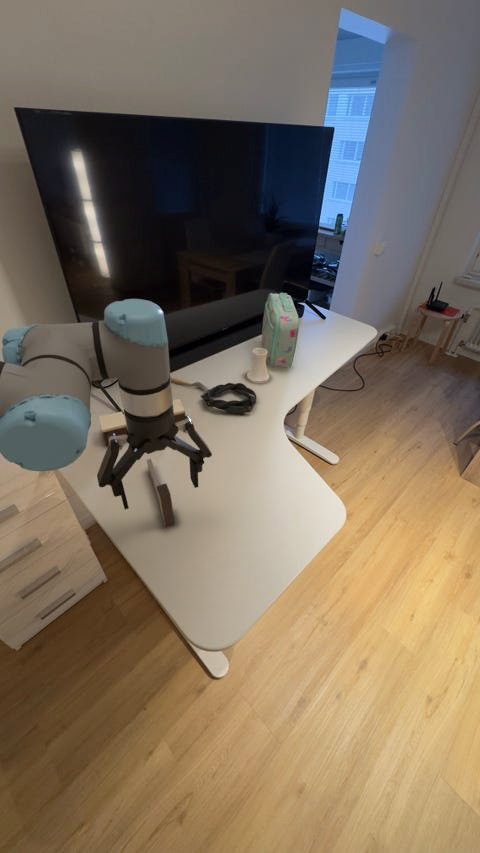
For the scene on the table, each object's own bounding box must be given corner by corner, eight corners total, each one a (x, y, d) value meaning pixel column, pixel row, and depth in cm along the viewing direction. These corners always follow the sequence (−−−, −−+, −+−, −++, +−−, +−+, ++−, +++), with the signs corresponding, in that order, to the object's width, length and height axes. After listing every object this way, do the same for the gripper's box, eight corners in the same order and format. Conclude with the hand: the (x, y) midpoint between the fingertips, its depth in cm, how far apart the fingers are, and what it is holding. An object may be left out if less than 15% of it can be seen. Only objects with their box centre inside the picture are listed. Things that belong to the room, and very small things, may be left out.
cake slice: (169, 430, 95) (167, 414, 92) (163, 417, 99) (161, 402, 96) (186, 425, 97) (185, 410, 93) (180, 413, 101) (178, 398, 97)
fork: (155, 374, 114) (208, 389, 108) (158, 371, 115) (210, 385, 109) (157, 380, 116) (209, 394, 110) (160, 376, 117) (212, 390, 111)
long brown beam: (165, 527, 71) (160, 497, 65) (146, 471, 83) (140, 441, 77) (175, 524, 72) (170, 494, 66) (155, 469, 84) (149, 439, 77)
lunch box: (258, 338, 141) (262, 285, 127) (283, 338, 142) (290, 285, 128) (266, 372, 121) (272, 313, 107) (295, 372, 121) (304, 313, 108)
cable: (197, 412, 102) (196, 400, 99) (204, 386, 112) (204, 375, 110) (254, 417, 101) (255, 405, 98) (256, 390, 112) (257, 379, 109)
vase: (266, 371, 121) (269, 345, 115) (270, 383, 116) (273, 356, 109) (245, 372, 120) (247, 346, 114) (248, 383, 115) (250, 357, 108)
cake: (106, 446, 89) (101, 430, 86) (103, 432, 94) (98, 416, 90) (129, 440, 91) (126, 424, 88) (125, 426, 96) (121, 411, 92)
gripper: (214, 378, 60) (213, 462, 74) (59, 407, 51) (90, 497, 65) (231, 401, 55) (227, 487, 68) (62, 439, 46) (96, 529, 60)
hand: (161, 492), depth 67 cm, fingers open, 13 cm apart
